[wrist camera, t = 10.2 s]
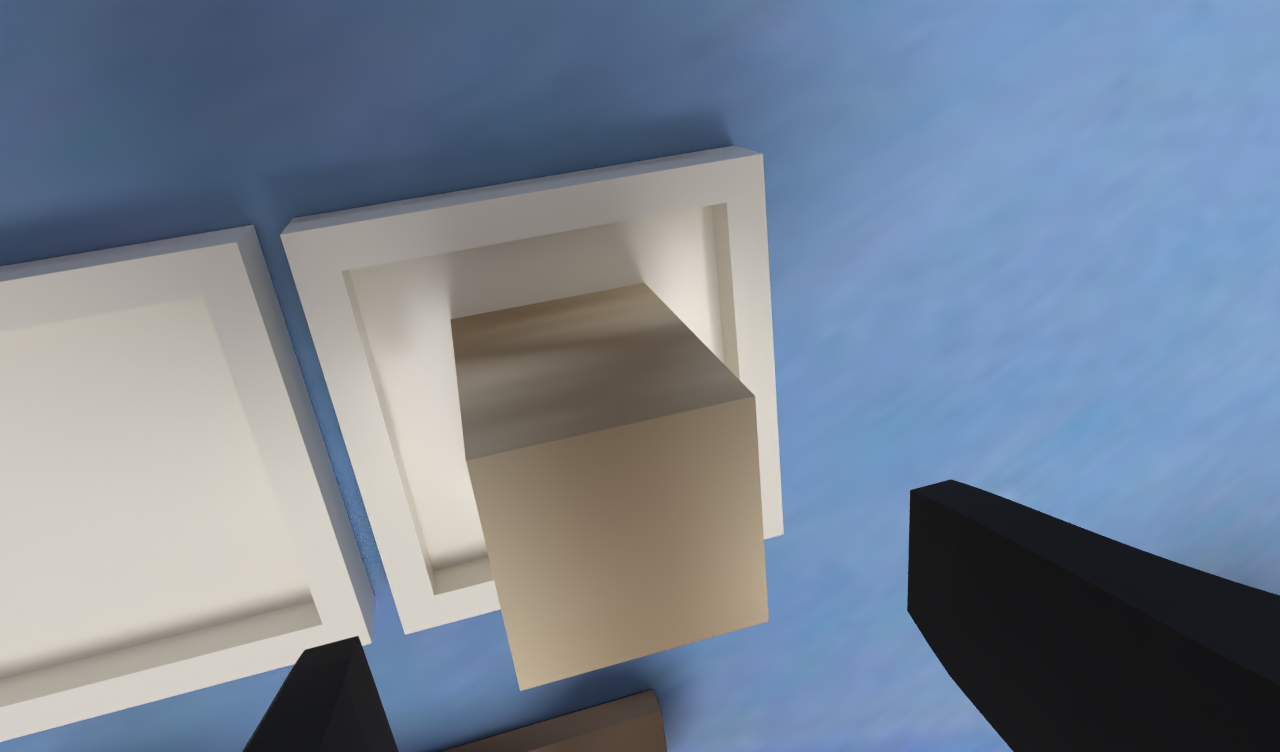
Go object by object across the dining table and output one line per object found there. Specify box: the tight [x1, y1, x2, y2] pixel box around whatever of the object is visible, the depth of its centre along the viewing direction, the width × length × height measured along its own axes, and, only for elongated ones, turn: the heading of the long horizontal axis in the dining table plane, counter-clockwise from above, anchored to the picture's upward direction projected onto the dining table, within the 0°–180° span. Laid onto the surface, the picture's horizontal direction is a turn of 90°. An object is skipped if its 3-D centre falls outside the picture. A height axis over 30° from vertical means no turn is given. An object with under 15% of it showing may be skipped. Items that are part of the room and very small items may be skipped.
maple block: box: [450, 283, 769, 691], centre depth 14 cm, size 4×4×6 cm
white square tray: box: [0, 225, 375, 742], centre depth 15 cm, size 9×9×2 cm
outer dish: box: [280, 145, 784, 635], centre depth 17 cm, size 9×9×2 cm
